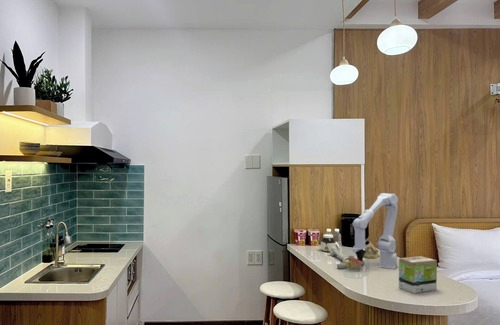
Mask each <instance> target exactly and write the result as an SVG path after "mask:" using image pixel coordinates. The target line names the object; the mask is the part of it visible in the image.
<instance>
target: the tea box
mask: <svg viewBox="0 0 500 325" xmlns="http://www.w3.org/2000/svg"><path fill="white" fill-rule="evenodd" d="M398 259H399V261H398V262H399V263H398V288H399V289H402V290H404V291H407V292H408V293H409V292H410V293H411V294H416V293H421V292H422V293H423V292H430V290H431V291H436V290H437V281H438V280H437V276H438V275H437V274H438V273H437V270H438V262H437V259H432V258H429V257H426V256H423V255H420V256H410V257H400V258H398Z"/></svg>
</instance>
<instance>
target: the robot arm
mask: <svg viewBox="0 0 500 325" xmlns="http://www.w3.org/2000/svg"><path fill="white" fill-rule="evenodd" d="M398 202H399V197H398V196H397V195H396V194H395V193H386V192H382V193H379V195H378V196H377V199H376V200H375V201H374V202H373V204H372V205H371V206H370V207H369V209H364V210H363V212H362V213H361V215H359V216H358V218H355V219H354V220H353V222H352V227H353V229H354V245H353V248H352V253H355V255H356V259H358V260H360V261H362V262H363V260H364V254H365V252H366V251H365V249H367V245H368V244H366V228H367V227H368V225H369V222H370V221H372V219H374V217H375V213H376V212H378V210H379V209H381V207H382V206H385V208H386V209H387V212H386V217H385V223H384V230H383V233H382V235H380V236H379V238H378V239H379V240H378V241H377V248H378V249H379V250H378V252H379V265H378V267H379V268H386V269H392V270H396V268H397V267H398V254H397V252H395V251H396V248H397V245H396V239H395V238H394V232H395V225H396V220H397V214H398V210H399V208H398V207H399V205H398Z"/></svg>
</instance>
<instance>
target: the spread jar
mask: <svg viewBox="0 0 500 325" xmlns="http://www.w3.org/2000/svg"><path fill="white" fill-rule="evenodd" d="M332 247H336V248H337V250H338V251H340V252H341V247H340V244H339V243H338V242H337V241H336V239H335V238H334V235H333V234H326V233H325V234H323V237H322V238H321V240H320V249H321V252H322V251H323V252H324V253H327V254H328V253H329V254H330V250H331V248H332Z"/></svg>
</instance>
